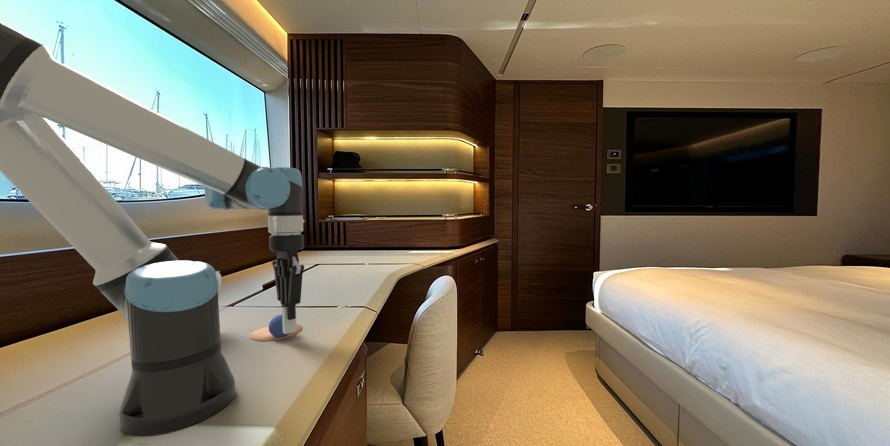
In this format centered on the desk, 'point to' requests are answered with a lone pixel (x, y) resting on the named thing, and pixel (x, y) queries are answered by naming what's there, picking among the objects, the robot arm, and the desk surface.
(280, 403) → the desk surface
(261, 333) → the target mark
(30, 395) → the desk surface
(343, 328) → the desk surface
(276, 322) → the ball
